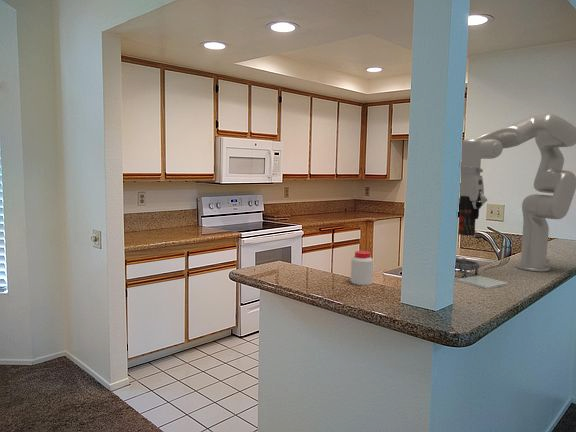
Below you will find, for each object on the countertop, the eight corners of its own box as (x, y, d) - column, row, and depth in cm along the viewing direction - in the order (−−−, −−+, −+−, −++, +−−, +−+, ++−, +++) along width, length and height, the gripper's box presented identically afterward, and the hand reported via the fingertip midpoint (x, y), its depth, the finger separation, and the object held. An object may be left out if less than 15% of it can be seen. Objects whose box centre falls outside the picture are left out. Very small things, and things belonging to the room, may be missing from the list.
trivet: (477, 277, 170) (478, 275, 170) (507, 284, 160) (507, 282, 160) (457, 281, 163) (458, 279, 163) (487, 289, 153) (487, 286, 153)
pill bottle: (359, 278, 165) (360, 249, 164) (376, 282, 160) (377, 252, 158) (346, 281, 160) (347, 252, 158) (363, 286, 154) (365, 255, 153)
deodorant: (476, 235, 169) (478, 196, 168) (459, 235, 170) (461, 196, 169) (472, 233, 175) (474, 195, 173) (457, 233, 176) (458, 195, 174)
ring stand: (459, 270, 182) (460, 258, 181) (483, 276, 173) (484, 263, 172) (442, 273, 176) (443, 260, 175) (466, 279, 167) (466, 266, 166)
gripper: (496, 172, 165) (493, 219, 167) (456, 171, 179) (454, 215, 181) (483, 172, 161) (481, 221, 163) (444, 171, 175) (442, 216, 177)
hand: (467, 217), depth 172 cm, fingers closed on deodorant, 6 cm apart
